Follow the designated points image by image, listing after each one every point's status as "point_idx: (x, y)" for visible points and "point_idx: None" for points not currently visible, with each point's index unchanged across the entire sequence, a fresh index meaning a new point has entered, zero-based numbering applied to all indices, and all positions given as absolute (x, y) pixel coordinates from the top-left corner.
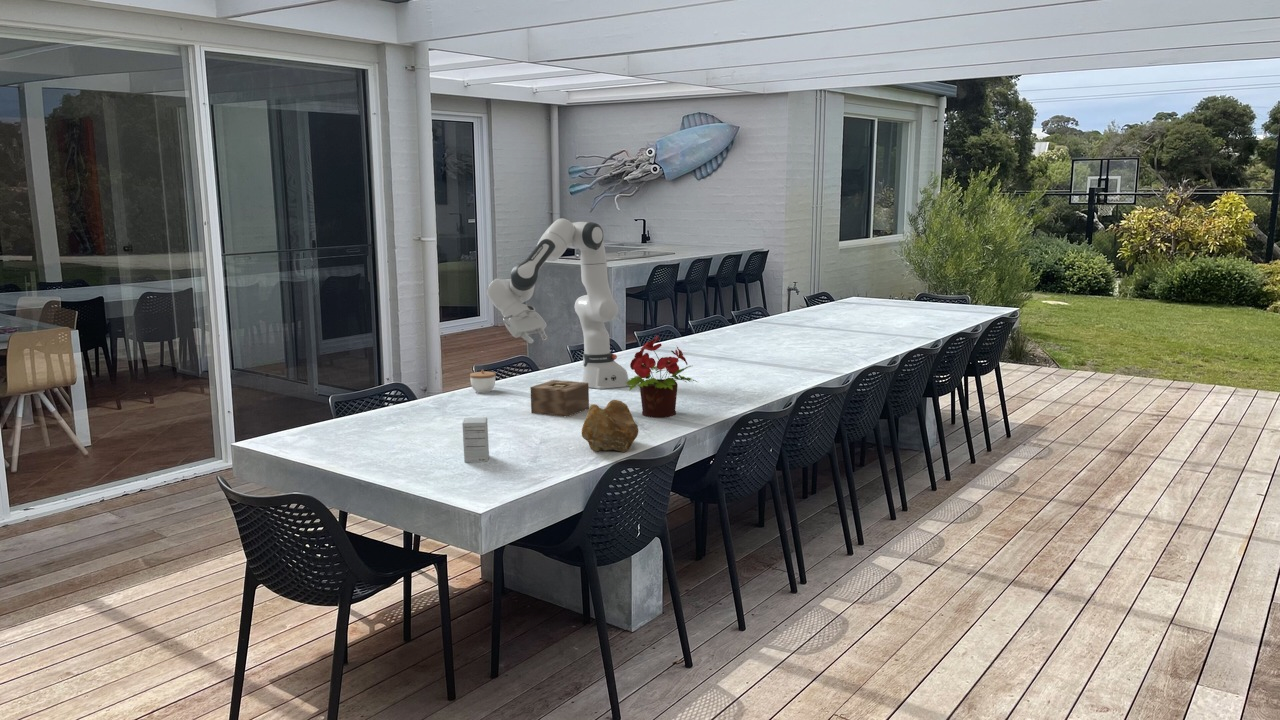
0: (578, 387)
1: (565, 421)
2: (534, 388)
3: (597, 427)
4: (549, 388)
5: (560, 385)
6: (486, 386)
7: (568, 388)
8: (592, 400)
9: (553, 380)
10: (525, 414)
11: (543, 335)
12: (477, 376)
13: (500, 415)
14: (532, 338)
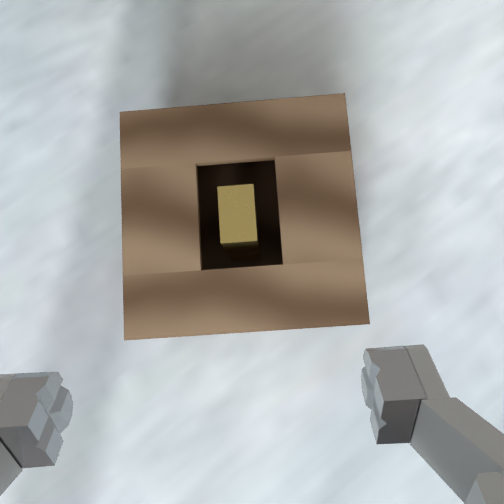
0: (224, 106)
1: (392, 111)
2: (365, 296)
3: None
4: (346, 203)
5: (235, 210)
6: None
7: (295, 115)
8: (17, 236)
9: (139, 327)
10: (375, 330)
11: (36, 418)
12: None
13: None
14: (387, 378)
